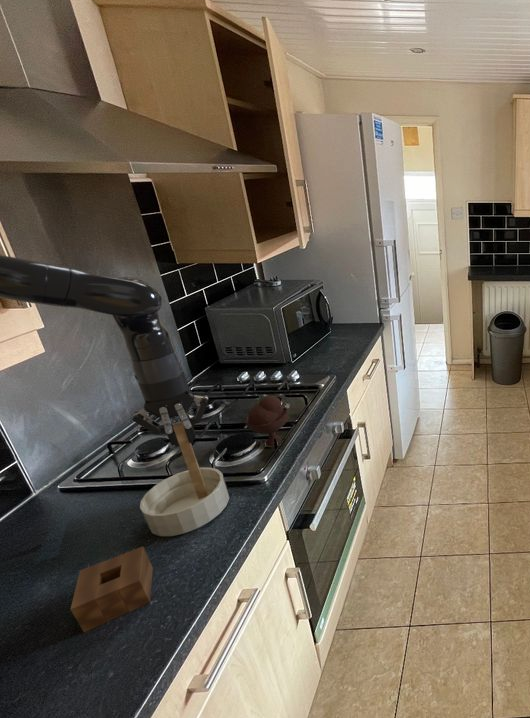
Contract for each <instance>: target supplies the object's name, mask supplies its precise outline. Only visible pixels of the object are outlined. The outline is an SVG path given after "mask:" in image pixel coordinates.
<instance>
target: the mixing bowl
mask: <svg viewBox="0 0 530 718" xmlns="http://www.w3.org/2000/svg"><path fill="white" fill-rule="evenodd" d="M199 468H200V471H201V474H202V477H203V480H204V483H205V486H206V489H207V491H208V496H207V497H204V498H201V499H198V496H197V493H196V491H195V488H194V485H193V482H192V479H191V477H190V474H189V471H188V469H187V470H184V471H181V472H177V473H175V474H174V475H171V476H169V477H167V478H165V479H163V480H162V481H160V482H158V483H157V484H155V485H154V486H152V487H151V488H150V489H149V490H148V491H147V492H146V493H145V494H144V495H143V497H142V498H141V500H140V505H139V510H140V512H141V514H142V516H143V519H144V521H145V524H146V526H147V528H148V529H149V532H151V534H152V535H156V536H158V537H174V536H178V535H183V534H187V533H190V532H192V531H194V530H197V529H199V528H201V527H203V526H205V525H206V524H208V523H209V522H211V521H212V520H214V519H215V518H216V517H218V516H219V515H220V514H221V513H222V512H223V510H224V509H225V508H226V507H227V505H228V503H229V501H230V494H229V489H228V486H227V484H226V483H227V482H226V481H225V477H224V474H223V472H221V471H220V470H219V469H217V468H213V467H199Z"/></svg>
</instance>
